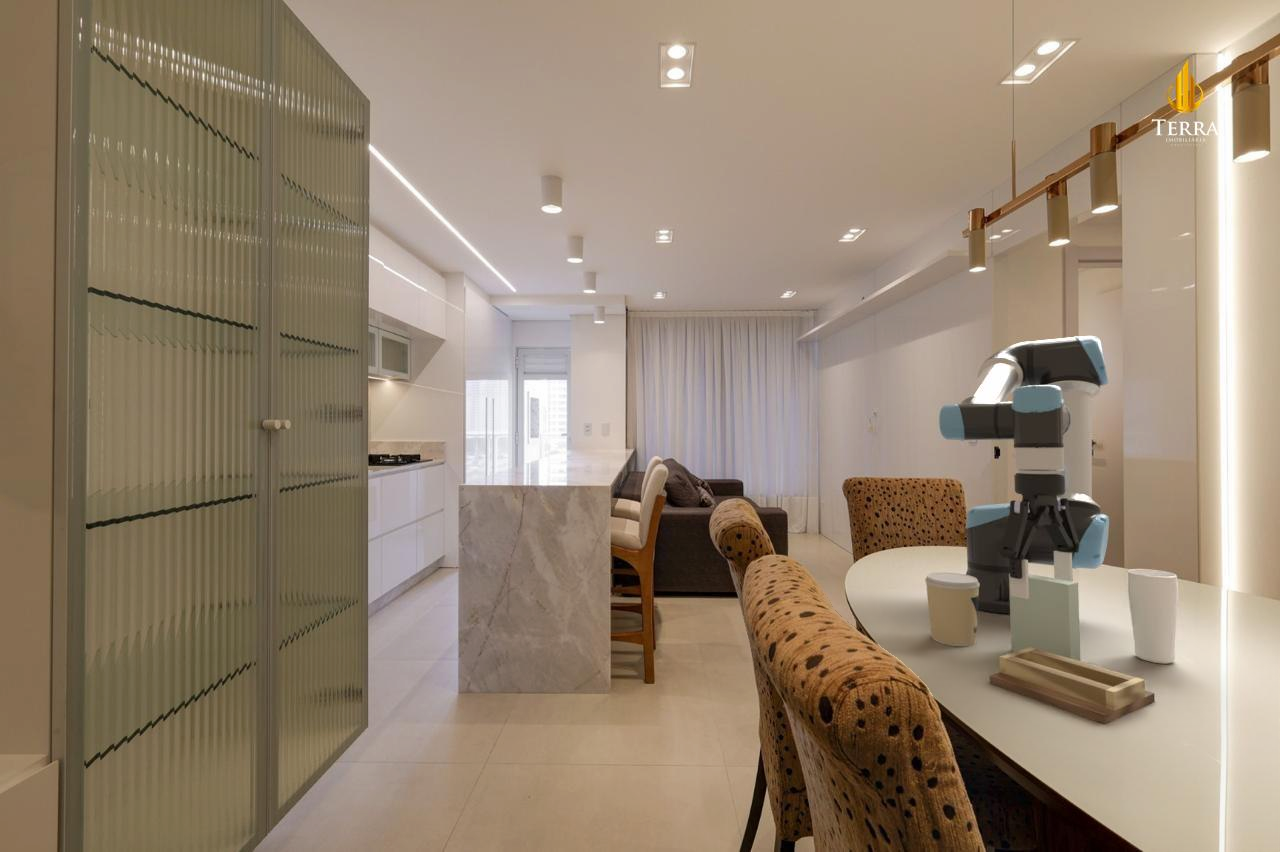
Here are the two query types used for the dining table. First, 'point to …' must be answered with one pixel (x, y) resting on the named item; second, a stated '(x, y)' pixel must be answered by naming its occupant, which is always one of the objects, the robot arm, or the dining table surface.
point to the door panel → (1047, 617)
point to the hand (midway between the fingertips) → (1042, 592)
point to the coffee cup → (953, 608)
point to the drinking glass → (1153, 613)
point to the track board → (1066, 699)
